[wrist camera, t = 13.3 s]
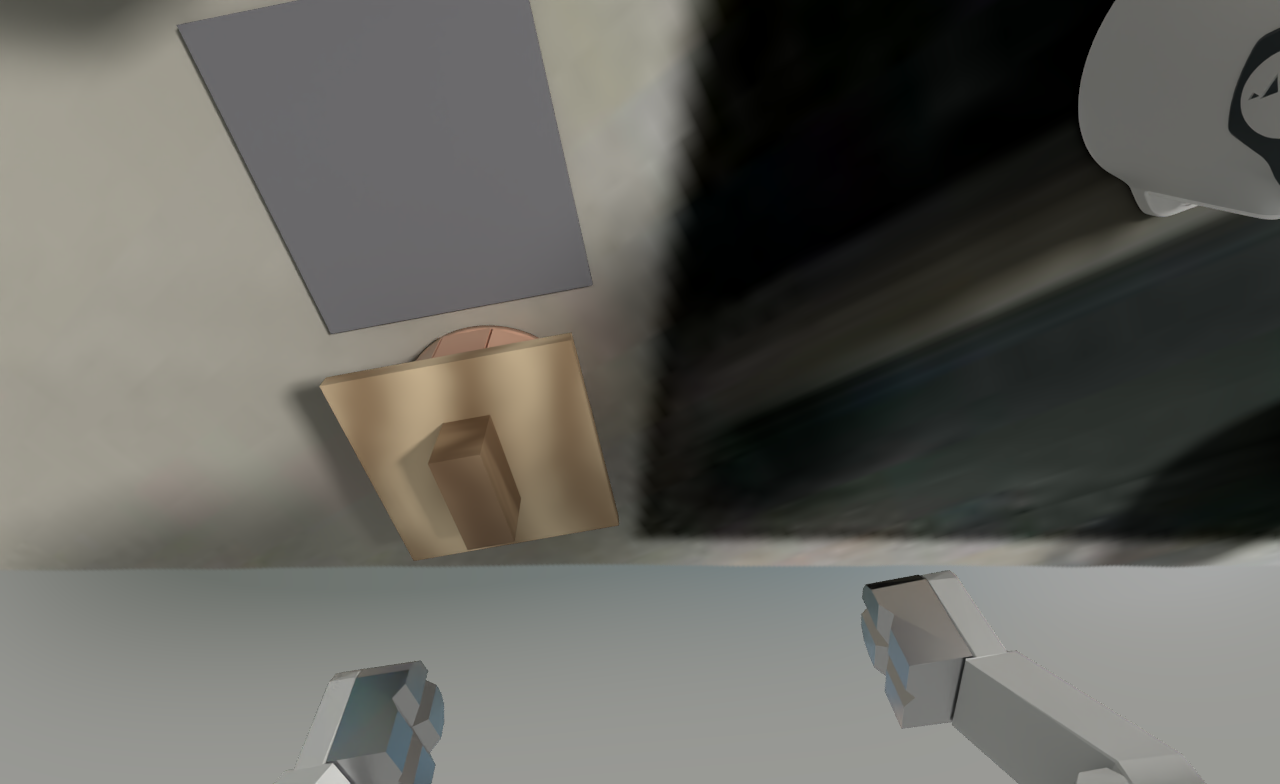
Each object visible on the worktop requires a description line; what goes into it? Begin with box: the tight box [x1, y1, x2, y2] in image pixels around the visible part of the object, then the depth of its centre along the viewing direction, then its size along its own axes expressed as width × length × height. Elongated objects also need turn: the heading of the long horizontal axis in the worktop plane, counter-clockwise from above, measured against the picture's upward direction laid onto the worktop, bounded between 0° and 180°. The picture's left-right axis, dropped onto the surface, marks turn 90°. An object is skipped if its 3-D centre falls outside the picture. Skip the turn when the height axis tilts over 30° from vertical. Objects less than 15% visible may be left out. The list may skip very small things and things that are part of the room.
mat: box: [177, 0, 593, 334], centre depth 35 cm, size 18×18×1 cm
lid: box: [320, 333, 619, 561], centre depth 37 cm, size 15×15×5 cm
